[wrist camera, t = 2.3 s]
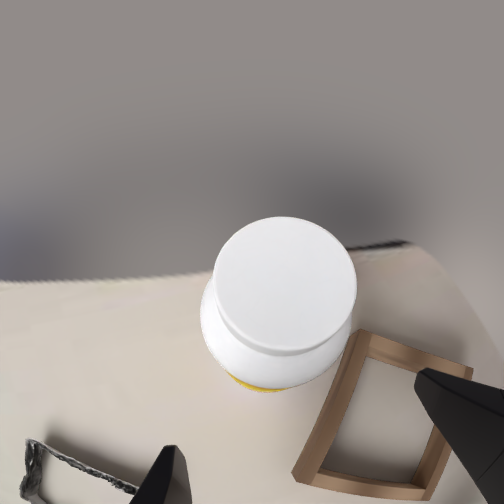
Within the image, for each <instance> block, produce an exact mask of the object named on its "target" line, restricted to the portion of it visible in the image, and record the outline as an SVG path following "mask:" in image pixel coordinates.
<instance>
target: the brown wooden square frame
mask: <svg viewBox="0 0 504 504" xmlns="http://www.w3.org/2000/svg"><path fill="white" fill-rule="evenodd" d="M366 356H367V357H370V358H373V359H376V360H379V361H382V362H385V363H388V364H391V365H394V366H397V367H400V368H403V369H406V370H409V371H412V372H416V373H418V371H420V370H422V369H424V368H426V367H427V368H431V369H434V370H437V371H441V372H444V373H447V374H450V375H453V376H457V377H460V378H463V379H467V380H470V381H471V379H472V374H473V369H474V368H471V367H468V366H465V365H462V364H458V363H455V362H452V361H449V360H446V359H444V358H441V357H438V356H435V355H432V354H429V353H426V352H423V351H420V350H417V349H415V348H412V347H409V346H406V345H403V344H401V343H398V342H395V341H392V340H389V339H387V338H384V337H381V336H378V335H376V334H373V333H370V332H368V331H365V330H362V329H359V330H358V331H357V332H355V333H354V334H353V335H351V336H350V337H349V339H348V342H347V345H346V348H345V351H344V354H343V357H342V360H341V362H340V365H339V368H338V370H337V373H336V376H335V378H334V381H333V383H332V386H331V388H330V391H329V393H328V396H327V398H326V401H325V403H324V405H323V408H322V410H321V412H320V415H319V417H318V419H317V421H316V424H315V426H314V428H313V430H312V432H311V434H310V436H309V439H308V441H307V443H306V445H305V447H304V449H303V451H302V453H301V455H300V457H299V459H298V460H297V462H296V464H295V466H294V468H293V470H292V472H291V473H292V475H293V477H294V479H295V480H296V482H299V483H303V484H307V485H311V486H315V487H319V488H323V489H328V490H332V491H337V492H342V493H348V494H354V495H360V496H367V497H375V498H384V499H395V500H414V501H429V500H430V498H431V496H432V494H433V492H434V490H435V488H436V486H437V484H438V482H439V480H440V477H441V475H442V473H443V470H444V468H445V466H446V463H447V461H448V458H449V456H450V453H451V450H452V448H451V447H450V445H449V444H448V442H447V441H446V439H445V438H444V437H443V435H442V434H441V432H440V431H439V430H438V428H437V427H436V425H435V424H434V427H433V430H432V433H431V436H430V438H429V441H428V444H427V446H426V449H425V452H424V454H423V457H422V459H421V461H420V464H419V466H418V468H417V471H416V473H415V475H414V477H413V479H412V481H411V483H410V484H408V483H398V482H390V481H382V480H375V479H369V478H363V477H358V476H353V475H348V474H343V473H339V472H335V471H330V470H326V469H322V468H320V466H321V464H322V462H323V460H324V458H325V456H326V454H327V452H328V450H329V448H330V446H331V444H332V442H333V439H334V437H335V435H336V433H337V431H338V428H339V426H340V424H341V421H342V419H343V417H344V414H345V412H346V409H347V407H348V404H349V402H350V399H351V397H352V394H353V391H354V389H355V386H356V383H357V381H358V378H359V375H360V372H361V369H362V366H363V363H364V360H365V357H366Z"/></svg>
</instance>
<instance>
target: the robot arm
mask: <svg viewBox="0 0 504 504" xmlns="http://www.w3.org/2000/svg"><path fill="white" fill-rule="evenodd" d="M414 389H415V392H416V394H417V395H418V397H419V399H420V401H421V402H422V404H423V406H424V408H425V410H426V411H427V413H428V415H429V417H430V418H431V420H432V421H433V423H434V424H435V425H436V427H437V428H438V430H439V431H440V432H441V434H442V435H443V437H444V438H445V439H446V441H447V442H448V444H449V445H450V447H451V448H452V449H453V451H454V452H455V454H456V455H457V457H458V458H459V460H460V461H461V463H462V464H463V466H464V467H465V468H466V470H467V471H468V473H469V474H470V476H471V477H472V479H473V481H474V482H475V484H476V485H477V487H478V488H479V490H480V492H481V493H482V495H483V496H484V498H485V499H486V501H487V503H488V504H504V390H503V389H500V390H499V388H495V387H491V386H488V385H484V384H481V383H477V382H474V381H470V380H467V379H463V378H460V377H457V376H453V375H450V374H447V373H444V372H441V371H437V370H434V369H431V368H427V367H426V368H424V369H422V370H420V371H418V373H417V376H416V380H415V384H414ZM129 504H192V495H191V489H190V484H189V478H188V472H187V465H186V460H185V457H184V455H183V454H182V452H181V451H180V450H179V448H178V447H177V446H176V445H166V446H164V447H163V449H162V450H161V452H160V454H159V456H158V457H157V459H156V461H155V462H154V464H153V466H152V467H151V469H150V471H149V472H148V474H147V476H146V477H145V479H144V480H143V482H142V484H141V485H140V487H139V489H138V490H137V492H136V494H135V495H134V497H133V498H132V500H131V502H130V503H129Z"/></svg>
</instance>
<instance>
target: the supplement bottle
mask: <svg viewBox="0 0 504 504" xmlns="http://www.w3.org/2000/svg"><path fill="white" fill-rule="evenodd" d="M356 295H357V278H356V272H355V268H354V265H353V262H352V260H351V258H350V256H349V254H348V252H347V251H346V249H345V248H344V247H343V245H342V244H341V243H340V242H339V241H338V240H337V239H336V238H335V237H334V236H333V235H332V234H330V233H329V232H328V231H327V230H325V229H324V228H322V227H320V226H318V225H316V224H314V223H312V222H309V221H306V220H303V219H299V218H293V217H272V218H266V219H262V220H259V221H256V222H254V223H251V224H249V225H247V226H245V227H243V228H242V229H240V230H239V231H237V232H236V233H235V234H234V235H233V236H232V237H231V238H230V239H229V240H228V241H227V242H226V244H225V245H224V246H223V248H222V249H221V251H220V253H219V256H218V257H217V260H216V263H215V267H214V272H213V275H212V277H211V278H210V280H209V282H208V284H207V286H206V288H205V290H204V294H203V297H202V301H201V309H200V321H201V328H202V333H203V336H204V339H205V342H206V344H207V346H208V348H209V350H210V352H211V353H212V355H213V356H214V358H215V359H216V360H217V362H218V363H219V364H220V365H221V366H222V367H223V368H224V369H225V371H226V372H227V373H228V374H229V375H230V376H231V377H232V378H233V379H234V380H235V381H236V382H238V383H239V384H240V385H242V386H244V387H245V388H248V389H250V390H253V391H257V392H264V393H270V392H278V391H282V390H285V389H288V388H291V387H295V386H299V385H301V384H304V383H306V382H308V381H311V380H313V379H314V378H316V377H318V376H319V375H321V374H322V373H323V372H325V371H326V370H327V369H328V368H329V367H330V366H331V365H332V364H333V363H334V362H335V361H336V359H337V358H338V357H339V355H340V354H341V352H342V351H343V349H344V347H345V345H346V343H347V340H348V337H349V334H350V330H351V323H352V310H353V307H354V304H355V301H356Z"/></svg>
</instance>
